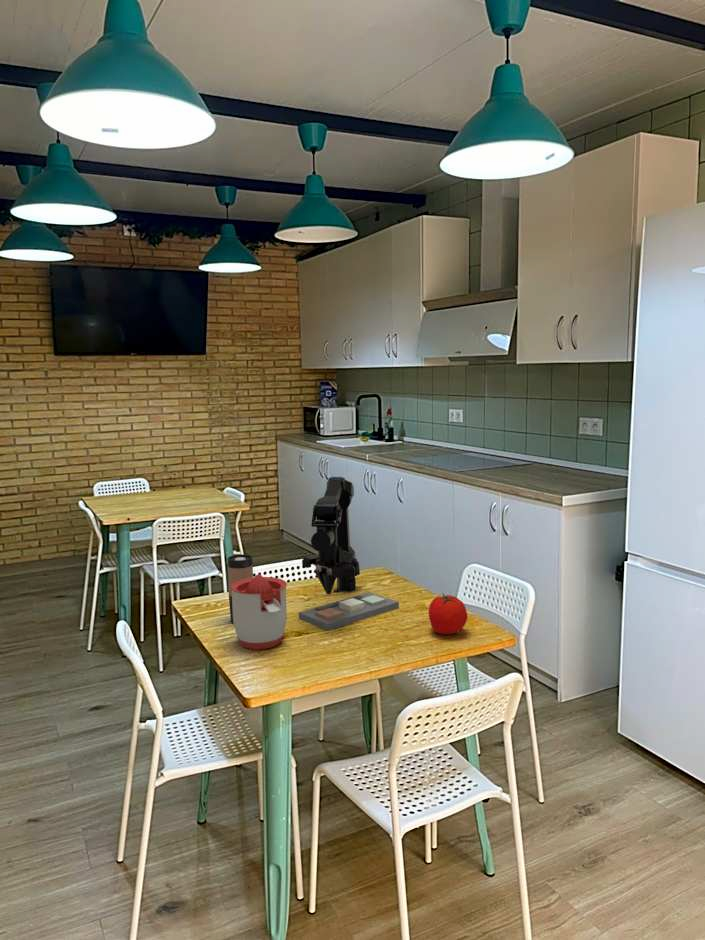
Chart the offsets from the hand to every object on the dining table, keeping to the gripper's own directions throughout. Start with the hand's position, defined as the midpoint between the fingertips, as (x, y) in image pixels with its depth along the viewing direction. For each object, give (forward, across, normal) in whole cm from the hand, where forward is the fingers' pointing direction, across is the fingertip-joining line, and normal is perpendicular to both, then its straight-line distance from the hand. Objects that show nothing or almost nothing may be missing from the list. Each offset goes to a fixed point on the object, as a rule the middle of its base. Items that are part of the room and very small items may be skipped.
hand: (328, 593), depth 212 cm
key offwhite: (+7, 0, -9) cm, 12 cm away
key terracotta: (+8, 0, 0) cm, 8 cm away
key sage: (+8, 0, -18) cm, 20 cm away
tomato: (+10, -29, -21) cm, 37 cm away
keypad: (+10, +1, -9) cm, 13 cm away
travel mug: (+10, +21, +17) cm, 29 cm away
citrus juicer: (+10, +1, +23) cm, 25 cm away
